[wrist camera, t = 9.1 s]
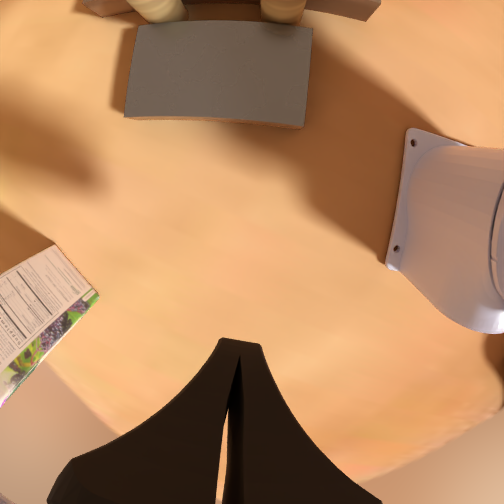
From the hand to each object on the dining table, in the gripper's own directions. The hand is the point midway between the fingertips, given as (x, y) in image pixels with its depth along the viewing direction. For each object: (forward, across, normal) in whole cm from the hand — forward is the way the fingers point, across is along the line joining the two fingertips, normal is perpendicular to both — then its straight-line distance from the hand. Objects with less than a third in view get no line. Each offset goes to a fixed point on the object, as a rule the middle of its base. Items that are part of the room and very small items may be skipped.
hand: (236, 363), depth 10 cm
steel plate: (+10, +4, -11) cm, 16 cm away
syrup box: (+10, +15, +5) cm, 19 cm away
